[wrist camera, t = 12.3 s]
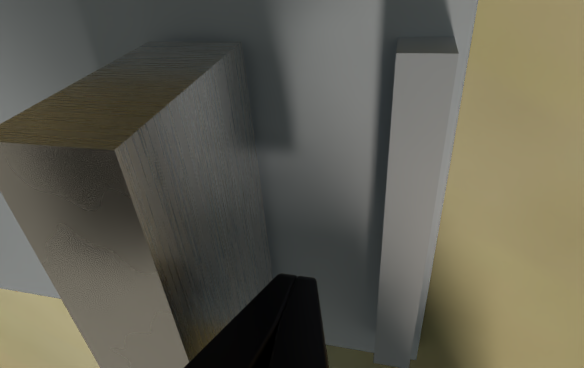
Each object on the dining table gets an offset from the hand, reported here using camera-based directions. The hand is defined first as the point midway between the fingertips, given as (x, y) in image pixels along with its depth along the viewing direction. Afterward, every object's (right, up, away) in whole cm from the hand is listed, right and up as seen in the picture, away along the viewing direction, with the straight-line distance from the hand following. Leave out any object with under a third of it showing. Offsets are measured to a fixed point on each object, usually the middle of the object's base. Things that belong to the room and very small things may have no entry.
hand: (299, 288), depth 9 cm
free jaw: (-2, +1, +2) cm, 3 cm away
